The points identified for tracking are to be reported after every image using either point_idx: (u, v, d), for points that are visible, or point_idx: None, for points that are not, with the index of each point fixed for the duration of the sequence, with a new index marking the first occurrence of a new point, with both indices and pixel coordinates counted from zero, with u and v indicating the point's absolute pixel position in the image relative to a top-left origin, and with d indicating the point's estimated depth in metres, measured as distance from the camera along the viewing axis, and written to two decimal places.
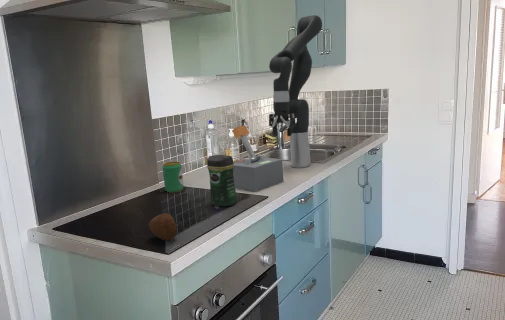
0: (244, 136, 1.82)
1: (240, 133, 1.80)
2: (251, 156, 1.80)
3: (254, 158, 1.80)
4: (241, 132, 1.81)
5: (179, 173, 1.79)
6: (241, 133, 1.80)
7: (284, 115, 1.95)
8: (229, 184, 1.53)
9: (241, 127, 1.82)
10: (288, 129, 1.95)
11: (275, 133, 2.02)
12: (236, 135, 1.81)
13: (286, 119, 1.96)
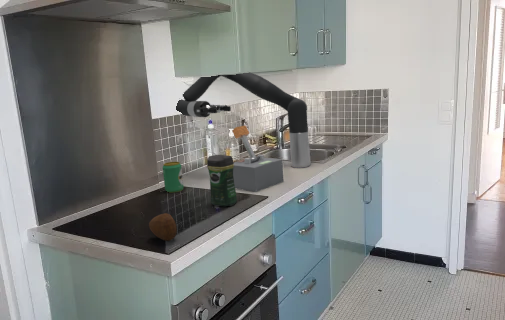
0: (244, 136, 1.82)
1: (240, 133, 1.80)
2: (251, 156, 1.80)
3: (254, 158, 1.80)
4: (241, 132, 1.81)
5: (179, 173, 1.79)
6: (241, 133, 1.80)
7: None
8: (229, 184, 1.53)
9: (241, 127, 1.82)
10: (211, 112, 1.86)
11: (228, 109, 1.91)
12: (236, 135, 1.81)
13: None
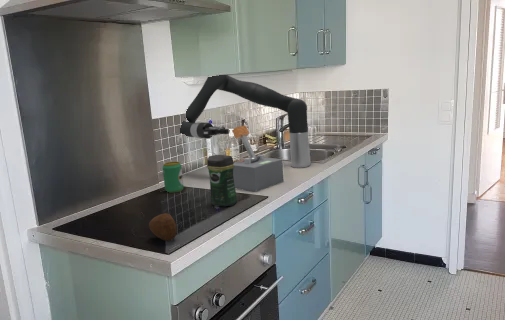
0: (244, 136, 1.82)
1: (240, 133, 1.80)
2: (251, 156, 1.80)
3: (254, 158, 1.80)
4: (241, 132, 1.81)
5: (179, 173, 1.79)
6: (241, 133, 1.80)
7: None
8: (229, 184, 1.53)
9: (241, 127, 1.82)
10: (221, 133, 1.90)
11: None
12: (236, 135, 1.81)
13: None
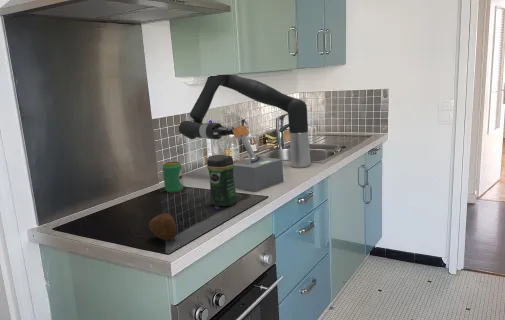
0: (244, 136, 1.82)
1: (240, 133, 1.80)
2: (251, 156, 1.80)
3: (254, 158, 1.80)
4: (241, 132, 1.81)
5: (179, 173, 1.79)
6: (241, 133, 1.80)
7: None
8: (229, 184, 1.53)
9: (241, 127, 1.82)
10: (231, 134, 1.86)
11: None
12: (236, 135, 1.81)
13: None
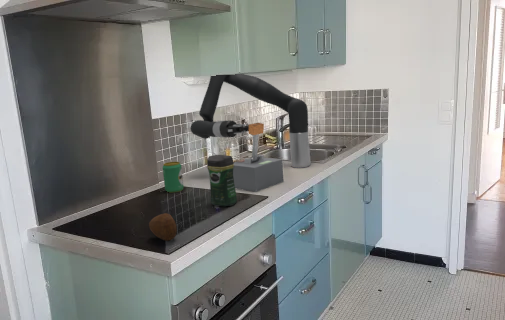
0: (257, 135, 1.77)
1: (255, 133, 1.74)
2: (253, 156, 1.80)
3: (255, 159, 1.80)
4: (256, 132, 1.75)
5: (179, 173, 1.79)
6: (256, 133, 1.75)
7: None
8: (229, 184, 1.53)
9: (259, 126, 1.75)
10: (247, 130, 1.79)
11: None
12: (250, 132, 1.75)
13: None
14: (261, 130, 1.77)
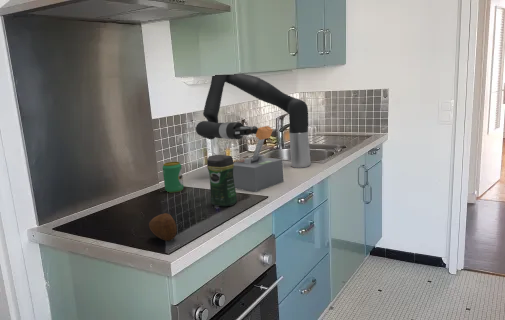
0: (263, 139, 1.75)
1: (262, 137, 1.72)
2: (254, 156, 1.79)
3: (255, 160, 1.80)
4: (263, 136, 1.73)
5: (179, 173, 1.79)
6: (263, 137, 1.73)
7: None
8: (229, 184, 1.53)
9: (267, 131, 1.72)
10: (254, 133, 1.77)
11: None
12: (257, 135, 1.72)
13: None
14: (268, 135, 1.75)
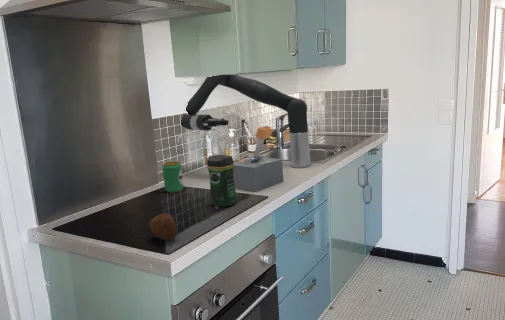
0: (263, 139, 1.75)
1: (262, 137, 1.72)
2: (254, 156, 1.79)
3: (255, 160, 1.80)
4: (263, 136, 1.73)
5: (179, 173, 1.79)
6: (263, 138, 1.73)
7: None
8: (229, 184, 1.53)
9: (267, 131, 1.72)
10: (221, 124, 1.91)
11: None
12: (257, 135, 1.72)
13: None
14: (268, 135, 1.75)
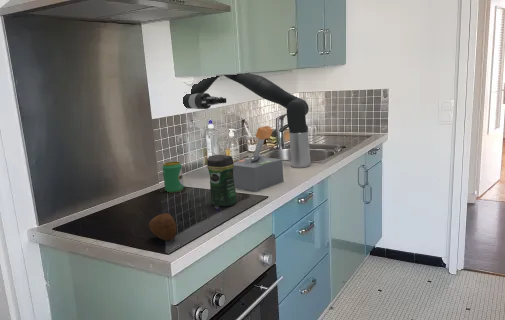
0: (263, 139, 1.75)
1: (262, 137, 1.72)
2: (254, 156, 1.79)
3: (255, 160, 1.80)
4: (263, 136, 1.73)
5: (179, 173, 1.79)
6: (263, 138, 1.73)
7: (206, 103, 1.96)
8: (229, 184, 1.53)
9: (267, 131, 1.72)
10: (219, 102, 1.93)
11: None
12: (257, 135, 1.72)
13: None
14: (268, 135, 1.75)
